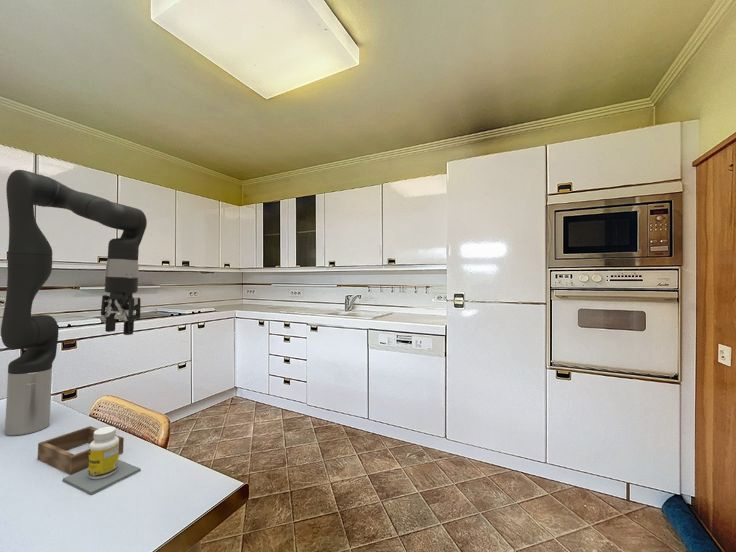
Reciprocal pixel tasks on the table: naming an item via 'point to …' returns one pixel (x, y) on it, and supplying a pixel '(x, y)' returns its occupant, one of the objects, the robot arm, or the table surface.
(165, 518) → the table surface
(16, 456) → the table surface
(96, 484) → the slate mat
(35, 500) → the table surface
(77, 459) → the walnut box
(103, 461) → the supplement bottle
